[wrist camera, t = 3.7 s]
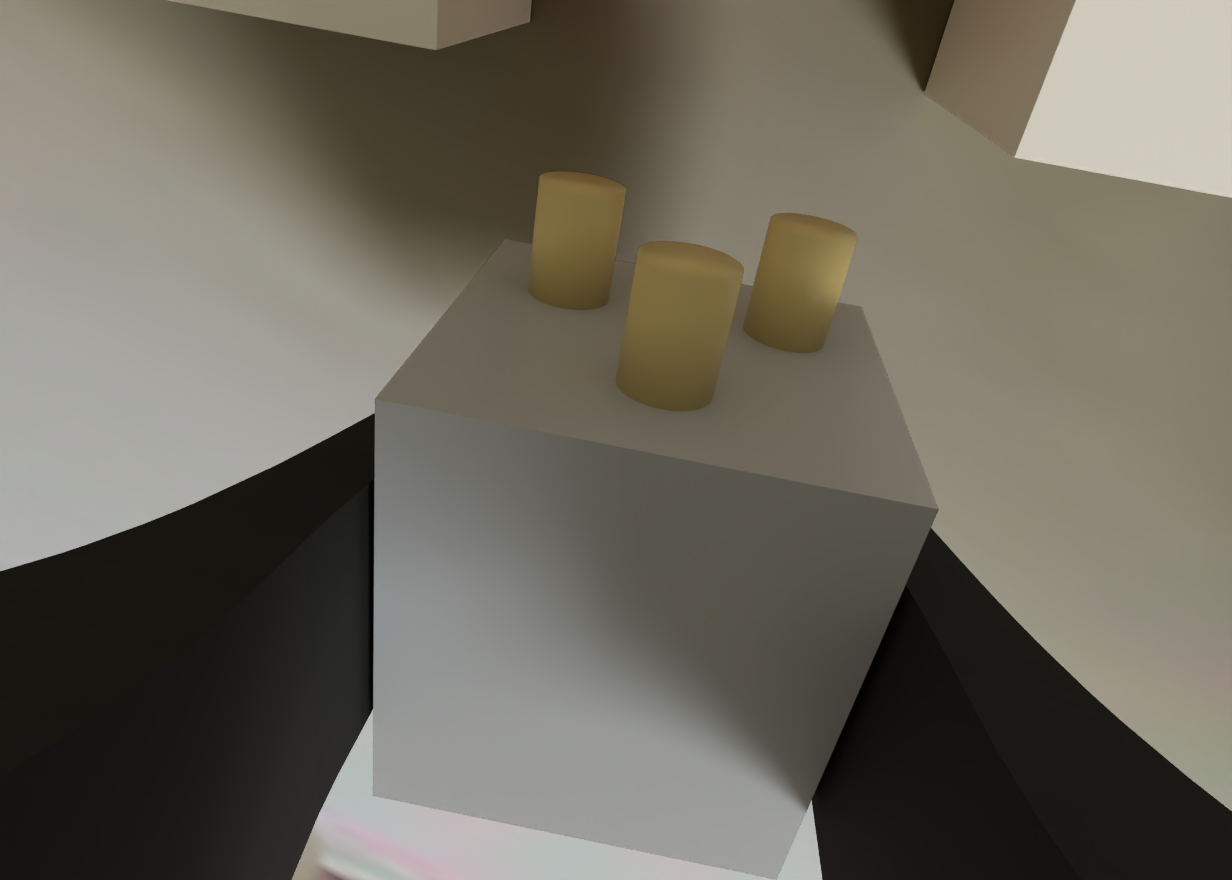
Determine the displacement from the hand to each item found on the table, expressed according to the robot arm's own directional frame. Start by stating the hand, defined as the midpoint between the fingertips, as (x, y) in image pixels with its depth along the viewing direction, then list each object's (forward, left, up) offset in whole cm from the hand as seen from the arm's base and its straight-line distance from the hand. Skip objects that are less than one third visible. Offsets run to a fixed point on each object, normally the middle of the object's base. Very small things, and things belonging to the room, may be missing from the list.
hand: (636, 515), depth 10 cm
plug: (0, 0, -2) cm, 2 cm away
